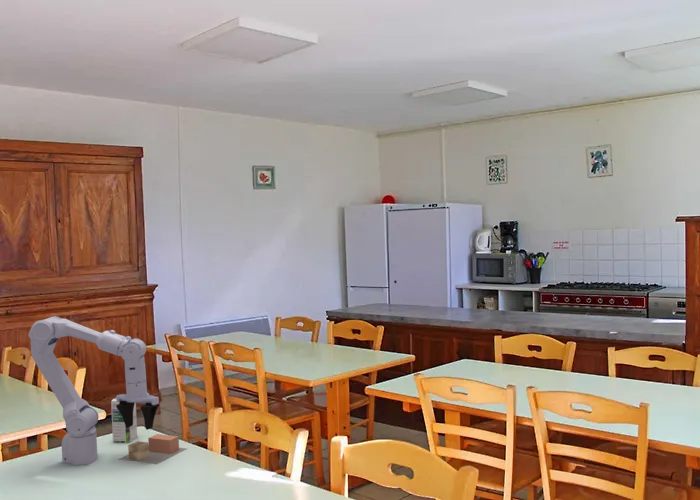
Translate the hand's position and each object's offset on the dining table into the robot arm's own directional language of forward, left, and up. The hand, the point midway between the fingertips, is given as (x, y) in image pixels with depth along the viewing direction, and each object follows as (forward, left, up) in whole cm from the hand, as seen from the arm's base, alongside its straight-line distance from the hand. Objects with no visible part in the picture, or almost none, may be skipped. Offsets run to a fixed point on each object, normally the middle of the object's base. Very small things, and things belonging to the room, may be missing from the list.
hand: (139, 427), depth 192 cm
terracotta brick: (+2, +7, -9) cm, 12 cm away
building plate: (+1, +4, -10) cm, 11 cm away
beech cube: (-1, 0, -9) cm, 9 cm away
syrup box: (-17, +12, -10) cm, 23 cm away
